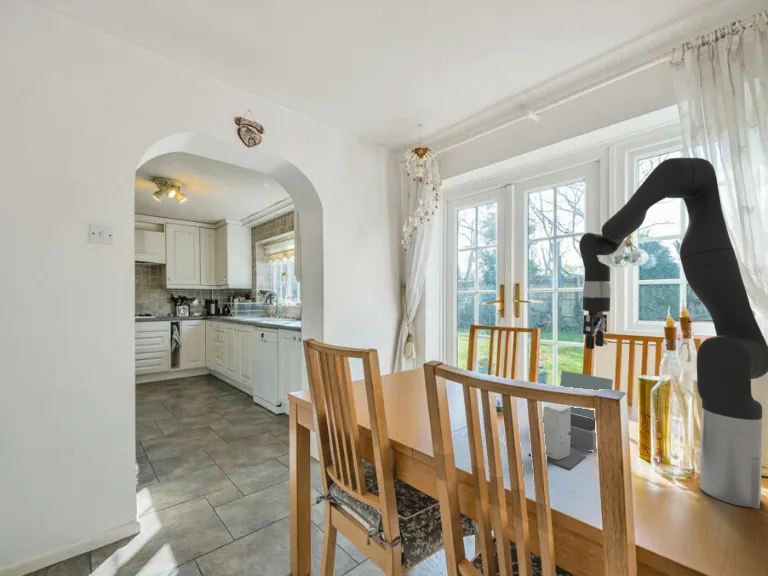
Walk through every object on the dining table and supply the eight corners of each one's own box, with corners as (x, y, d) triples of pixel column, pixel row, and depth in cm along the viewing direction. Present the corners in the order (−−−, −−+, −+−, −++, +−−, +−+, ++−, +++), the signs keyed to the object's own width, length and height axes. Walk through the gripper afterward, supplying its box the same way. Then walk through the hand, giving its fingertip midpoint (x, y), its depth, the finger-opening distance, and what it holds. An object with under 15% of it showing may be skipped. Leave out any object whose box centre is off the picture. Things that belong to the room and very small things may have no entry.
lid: (608, 422, 105) (609, 422, 105) (611, 379, 106) (612, 379, 107) (557, 409, 115) (558, 409, 116) (561, 370, 117) (562, 370, 117)
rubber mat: (585, 457, 93) (585, 456, 93) (569, 470, 87) (569, 468, 87) (546, 444, 101) (546, 443, 101) (528, 455, 94) (528, 453, 94)
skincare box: (558, 461, 90) (560, 411, 90) (541, 454, 94) (542, 406, 94) (571, 454, 94) (572, 406, 94) (553, 448, 97) (555, 402, 97)
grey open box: (607, 440, 105) (608, 422, 105) (592, 452, 97) (593, 433, 97) (557, 426, 115) (557, 409, 115) (539, 435, 107) (540, 418, 107)
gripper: (591, 295, 125) (589, 344, 125) (575, 295, 115) (573, 347, 115) (616, 296, 119) (615, 347, 119) (602, 296, 110) (600, 351, 110)
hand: (594, 347), depth 117 cm, fingers open, 8 cm apart
